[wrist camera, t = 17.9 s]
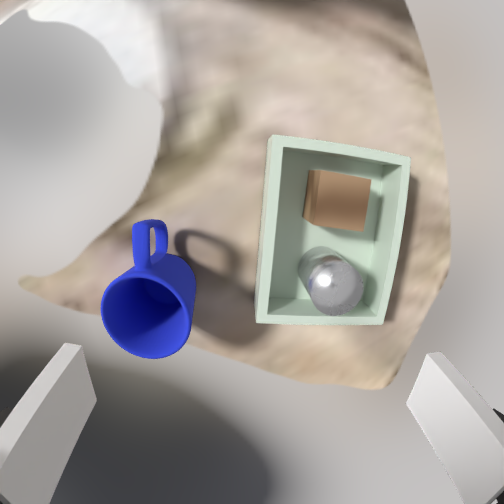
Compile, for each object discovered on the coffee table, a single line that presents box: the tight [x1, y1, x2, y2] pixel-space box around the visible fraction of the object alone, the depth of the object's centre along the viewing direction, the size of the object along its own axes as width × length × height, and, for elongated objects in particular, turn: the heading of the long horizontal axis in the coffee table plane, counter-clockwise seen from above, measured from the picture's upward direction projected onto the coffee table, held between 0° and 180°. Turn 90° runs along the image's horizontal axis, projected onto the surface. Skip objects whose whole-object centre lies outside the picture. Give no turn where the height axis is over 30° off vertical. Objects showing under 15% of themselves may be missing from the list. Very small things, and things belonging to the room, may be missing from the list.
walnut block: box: [302, 170, 371, 232], centre depth 29 cm, size 5×5×5 cm
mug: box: [101, 219, 196, 359], centre depth 29 cm, size 8×12×10 cm
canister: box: [298, 246, 363, 316], centre depth 30 cm, size 5×5×7 cm
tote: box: [254, 135, 411, 325], centre depth 31 cm, size 18×14×5 cm
